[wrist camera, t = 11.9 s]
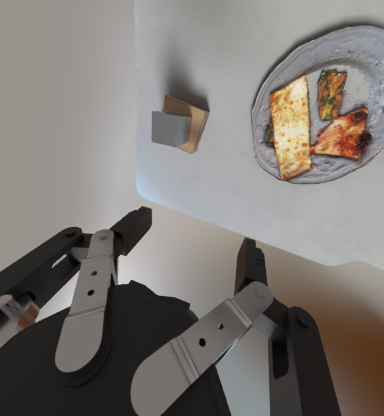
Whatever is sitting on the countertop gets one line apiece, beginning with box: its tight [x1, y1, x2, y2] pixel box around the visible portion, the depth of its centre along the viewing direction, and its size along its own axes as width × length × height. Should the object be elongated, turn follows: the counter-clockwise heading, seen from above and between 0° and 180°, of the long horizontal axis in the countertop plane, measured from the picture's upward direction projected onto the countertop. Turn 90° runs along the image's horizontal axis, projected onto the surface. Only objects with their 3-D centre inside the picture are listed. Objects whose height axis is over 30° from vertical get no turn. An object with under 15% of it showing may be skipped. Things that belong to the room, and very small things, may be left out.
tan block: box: [163, 95, 210, 154], centre depth 37 cm, size 9×9×5 cm
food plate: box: [251, 25, 384, 184], centre depth 30 cm, size 25×23×4 cm
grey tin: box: [152, 111, 192, 147], centre depth 31 cm, size 5×5×8 cm
